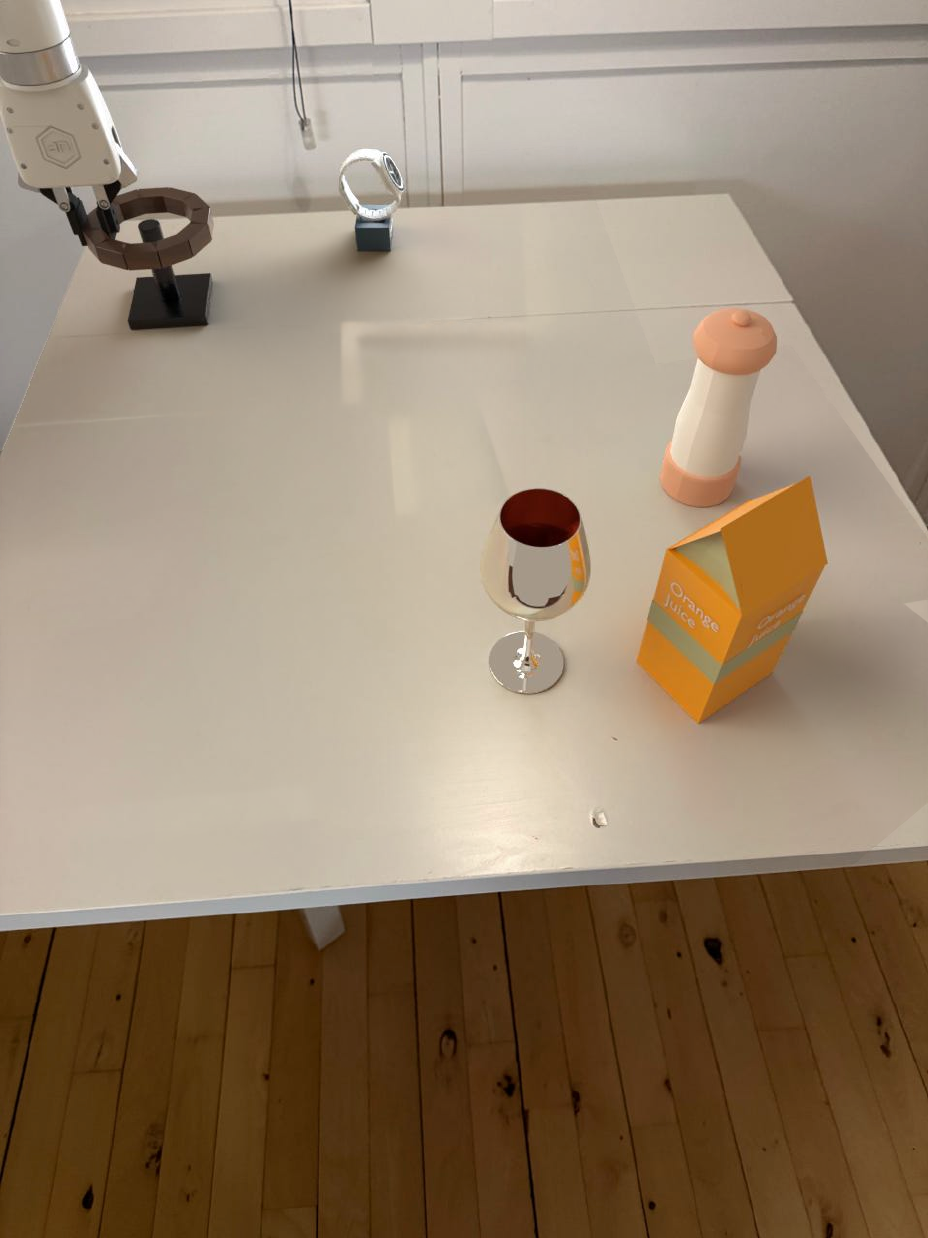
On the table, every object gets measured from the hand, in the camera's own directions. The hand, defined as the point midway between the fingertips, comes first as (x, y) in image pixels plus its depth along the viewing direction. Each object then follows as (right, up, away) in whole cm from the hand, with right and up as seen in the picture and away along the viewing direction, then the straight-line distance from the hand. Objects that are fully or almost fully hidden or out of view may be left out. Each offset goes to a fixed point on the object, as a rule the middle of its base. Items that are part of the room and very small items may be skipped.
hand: (99, 237), depth 101 cm
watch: (+29, +7, +16) cm, 34 cm away
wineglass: (+46, -47, -24) cm, 70 cm away
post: (+6, -5, +8) cm, 11 cm away
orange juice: (+61, -47, -24) cm, 81 cm away
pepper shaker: (+64, -29, -11) cm, 71 cm away
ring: (+6, 0, 0) cm, 6 cm away
